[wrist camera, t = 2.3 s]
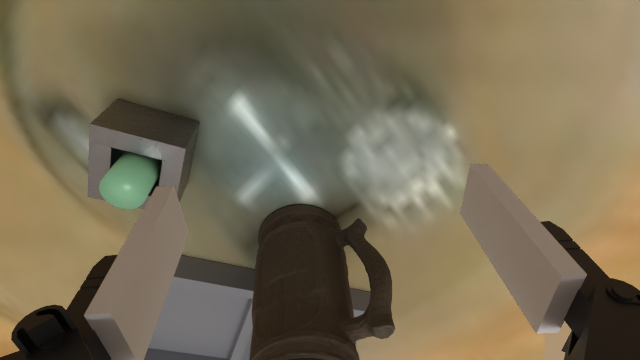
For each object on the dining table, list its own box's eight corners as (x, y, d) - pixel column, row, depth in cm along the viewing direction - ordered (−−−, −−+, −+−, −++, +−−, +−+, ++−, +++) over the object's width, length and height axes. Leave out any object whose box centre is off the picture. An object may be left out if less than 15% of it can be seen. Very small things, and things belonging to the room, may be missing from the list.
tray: (127, 343, 57) (117, 366, 54) (139, 246, 47) (128, 268, 44) (323, 370, 65) (324, 391, 62) (370, 292, 55) (375, 313, 51)
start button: (124, 168, 37) (98, 203, 32) (127, 136, 36) (100, 168, 31) (163, 177, 38) (143, 213, 33) (168, 146, 36) (148, 179, 31)
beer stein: (296, 280, 52) (309, 435, 35) (237, 241, 48) (218, 398, 30) (379, 214, 48) (440, 352, 31) (322, 164, 43) (357, 294, 26)
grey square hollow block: (113, 165, 40) (87, 196, 35) (117, 98, 37) (89, 123, 32) (187, 183, 42) (173, 215, 37) (199, 121, 38) (185, 148, 33)
